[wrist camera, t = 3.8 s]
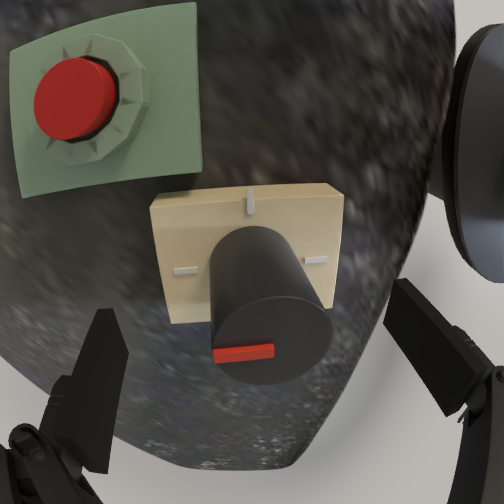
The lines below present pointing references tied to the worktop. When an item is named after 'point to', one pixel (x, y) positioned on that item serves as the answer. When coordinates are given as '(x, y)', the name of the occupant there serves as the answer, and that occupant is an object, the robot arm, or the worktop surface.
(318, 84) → the worktop surface
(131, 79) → the switch base
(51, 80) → the switch button
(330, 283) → the dial panel
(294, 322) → the dial
